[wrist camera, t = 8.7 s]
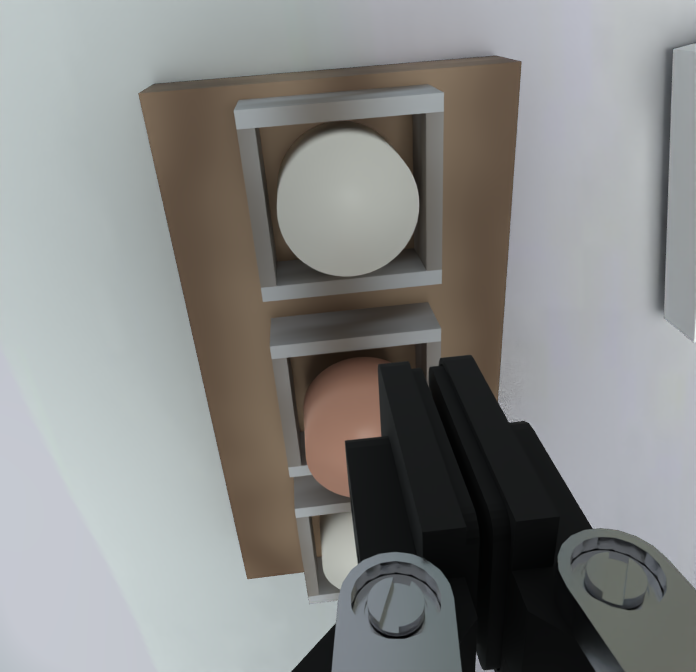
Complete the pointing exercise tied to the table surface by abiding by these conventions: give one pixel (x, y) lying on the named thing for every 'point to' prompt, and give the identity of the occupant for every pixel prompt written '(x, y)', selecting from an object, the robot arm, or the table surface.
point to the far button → (337, 546)
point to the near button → (345, 199)
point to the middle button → (340, 417)
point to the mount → (320, 288)
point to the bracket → (682, 197)
